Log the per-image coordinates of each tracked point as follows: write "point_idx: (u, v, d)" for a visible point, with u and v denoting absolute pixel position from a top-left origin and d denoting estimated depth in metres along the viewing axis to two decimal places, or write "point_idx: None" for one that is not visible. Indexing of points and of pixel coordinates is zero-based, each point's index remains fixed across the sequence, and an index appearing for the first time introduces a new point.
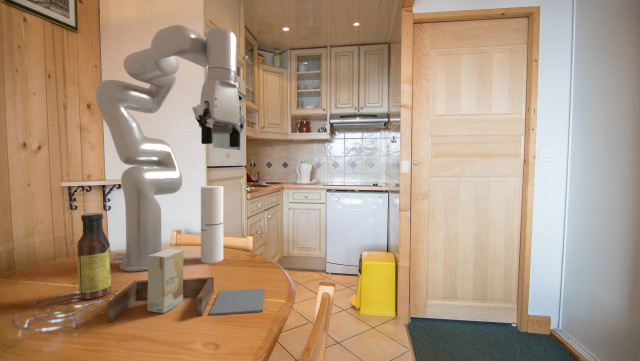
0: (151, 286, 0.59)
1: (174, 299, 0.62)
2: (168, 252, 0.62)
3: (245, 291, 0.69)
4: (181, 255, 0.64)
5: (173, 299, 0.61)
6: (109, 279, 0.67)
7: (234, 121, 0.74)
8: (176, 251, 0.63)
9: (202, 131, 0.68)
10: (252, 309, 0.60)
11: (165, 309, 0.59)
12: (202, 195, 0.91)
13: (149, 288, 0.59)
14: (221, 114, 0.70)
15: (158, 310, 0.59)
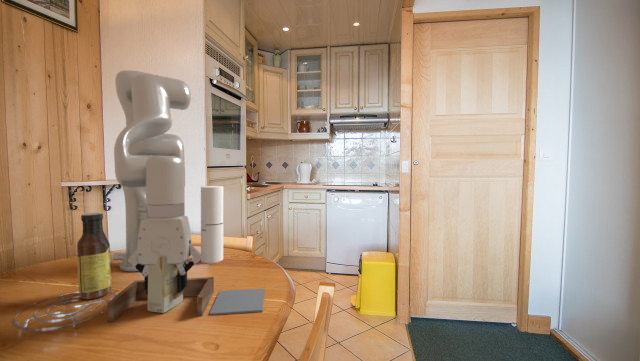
0: (151, 286, 0.59)
1: (174, 299, 0.62)
2: None
3: (245, 291, 0.69)
4: None
5: (173, 299, 0.61)
6: (109, 279, 0.67)
7: None
8: None
9: (185, 278, 0.62)
10: (252, 309, 0.60)
11: (166, 309, 0.59)
12: (202, 195, 0.91)
13: (149, 288, 0.59)
14: None
15: (158, 310, 0.59)
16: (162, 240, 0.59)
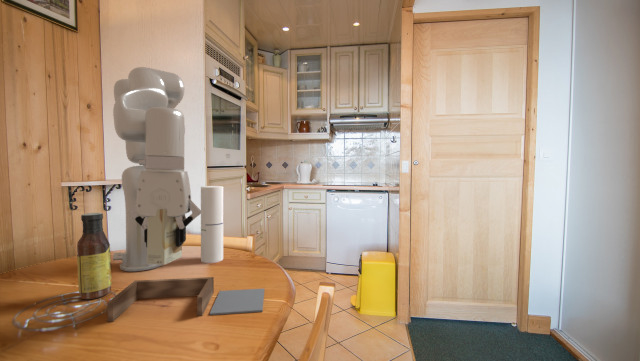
0: (151, 238, 0.59)
1: (174, 253, 0.62)
2: None
3: (245, 291, 0.69)
4: None
5: (173, 253, 0.62)
6: (109, 279, 0.67)
7: None
8: None
9: (184, 232, 0.62)
10: (252, 309, 0.60)
11: (166, 261, 0.59)
12: (202, 195, 0.91)
13: (149, 241, 0.59)
14: None
15: (158, 262, 0.59)
16: (161, 192, 0.59)
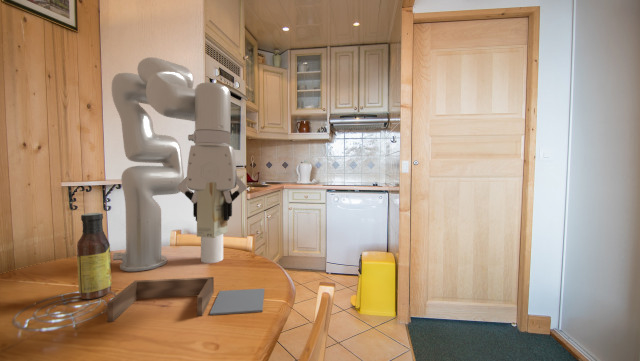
0: (201, 212, 0.60)
1: (221, 227, 0.63)
2: None
3: (245, 291, 0.69)
4: None
5: (220, 227, 0.62)
6: (109, 279, 0.67)
7: None
8: None
9: (231, 207, 0.63)
10: (252, 309, 0.60)
11: (215, 234, 0.60)
12: None
13: (198, 214, 0.60)
14: None
15: (208, 235, 0.60)
16: (211, 166, 0.60)
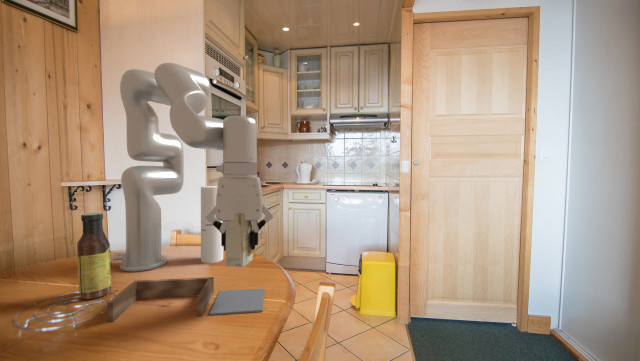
0: (229, 242, 0.61)
1: (248, 255, 0.64)
2: None
3: (245, 291, 0.69)
4: None
5: (248, 256, 0.64)
6: (109, 279, 0.67)
7: None
8: None
9: (257, 236, 0.64)
10: (252, 309, 0.60)
11: (244, 263, 0.62)
12: (202, 195, 0.91)
13: (227, 244, 0.61)
14: None
15: (237, 265, 0.61)
16: (239, 197, 0.61)
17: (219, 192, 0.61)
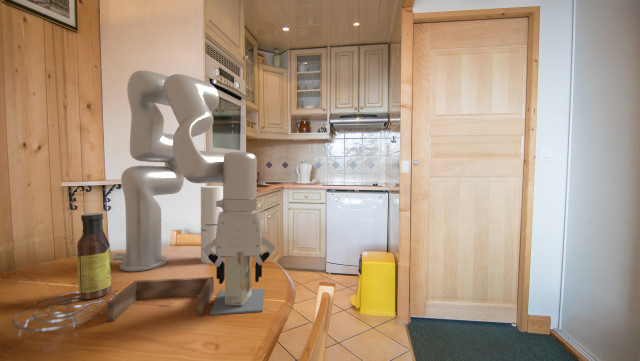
0: (229, 280, 0.62)
1: (247, 292, 0.65)
2: None
3: None
4: None
5: (247, 292, 0.64)
6: (109, 279, 0.67)
7: None
8: None
9: (261, 268, 0.65)
10: (252, 309, 0.60)
11: (243, 301, 0.62)
12: (202, 195, 0.91)
13: (227, 282, 0.62)
14: None
15: (236, 303, 0.62)
16: (239, 233, 0.62)
17: (219, 228, 0.61)
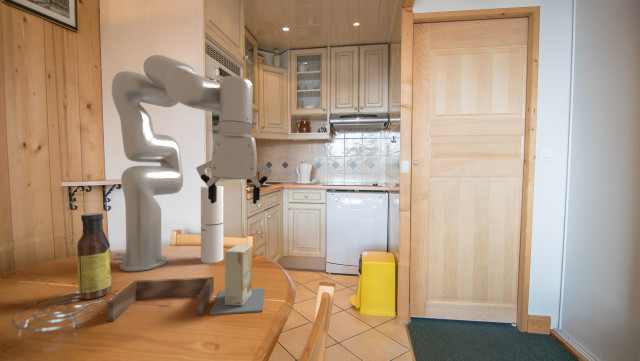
0: (229, 280, 0.62)
1: (247, 292, 0.65)
2: (241, 248, 0.65)
3: None
4: (250, 250, 0.67)
5: (247, 292, 0.64)
6: (109, 279, 0.67)
7: None
8: (247, 247, 0.66)
9: (259, 191, 0.67)
10: (252, 309, 0.60)
11: (243, 301, 0.62)
12: (202, 195, 0.91)
13: (227, 282, 0.62)
14: None
15: (236, 303, 0.62)
16: (234, 155, 0.63)
17: (215, 150, 0.63)
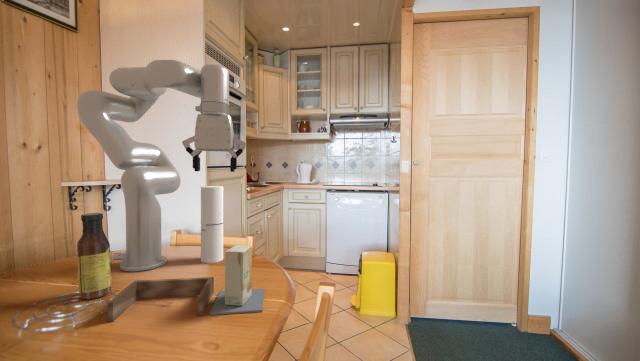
0: (229, 280, 0.62)
1: (247, 292, 0.65)
2: (241, 248, 0.65)
3: None
4: (250, 250, 0.67)
5: (247, 292, 0.64)
6: (109, 279, 0.67)
7: None
8: (247, 247, 0.66)
9: (236, 161, 0.79)
10: (252, 309, 0.60)
11: (243, 301, 0.62)
12: (202, 195, 0.91)
13: (227, 283, 0.62)
14: None
15: (236, 303, 0.62)
16: (214, 130, 0.76)
17: (197, 126, 0.75)
